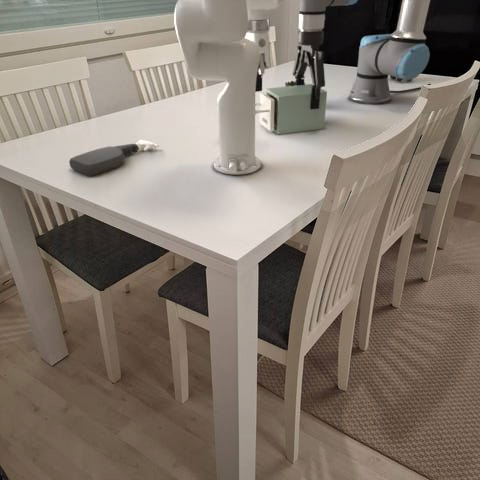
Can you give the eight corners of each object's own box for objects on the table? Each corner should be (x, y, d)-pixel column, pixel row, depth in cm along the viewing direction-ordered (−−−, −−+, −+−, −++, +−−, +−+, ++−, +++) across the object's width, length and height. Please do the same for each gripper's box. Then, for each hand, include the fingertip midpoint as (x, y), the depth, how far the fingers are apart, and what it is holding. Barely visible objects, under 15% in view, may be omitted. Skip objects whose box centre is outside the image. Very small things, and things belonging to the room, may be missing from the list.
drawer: (253, 133, 139) (253, 102, 134) (243, 124, 147) (242, 94, 141) (313, 126, 144) (315, 95, 139) (300, 117, 152) (302, 88, 147)
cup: (281, 105, 168) (282, 83, 164) (288, 101, 173) (289, 79, 169) (299, 108, 165) (301, 85, 161) (306, 103, 170) (308, 81, 166)
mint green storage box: (278, 134, 141) (279, 96, 135) (265, 124, 150) (266, 88, 143) (324, 128, 145) (327, 91, 139) (309, 119, 154) (311, 83, 148)
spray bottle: (67, 168, 120) (139, 144, 136) (91, 178, 114) (163, 151, 130) (65, 157, 118) (137, 134, 134) (89, 167, 112) (162, 142, 128)
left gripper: (278, 28, 123) (276, 95, 133) (259, 21, 135) (259, 84, 145) (252, 30, 121) (253, 98, 131) (235, 23, 133) (237, 86, 143)
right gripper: (341, 34, 124) (334, 112, 136) (305, 24, 143) (301, 94, 155) (317, 35, 123) (311, 115, 134) (284, 26, 142) (281, 96, 153)
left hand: (256, 90), depth 138 cm, fingers closed
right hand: (306, 104), depth 145 cm, fingers closed on mint green storage box, 11 cm apart
